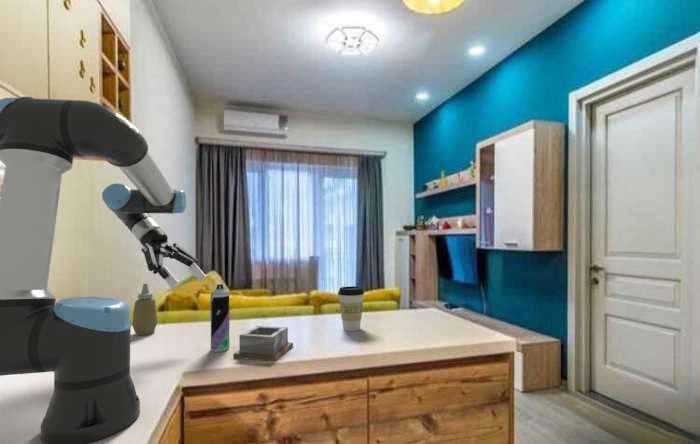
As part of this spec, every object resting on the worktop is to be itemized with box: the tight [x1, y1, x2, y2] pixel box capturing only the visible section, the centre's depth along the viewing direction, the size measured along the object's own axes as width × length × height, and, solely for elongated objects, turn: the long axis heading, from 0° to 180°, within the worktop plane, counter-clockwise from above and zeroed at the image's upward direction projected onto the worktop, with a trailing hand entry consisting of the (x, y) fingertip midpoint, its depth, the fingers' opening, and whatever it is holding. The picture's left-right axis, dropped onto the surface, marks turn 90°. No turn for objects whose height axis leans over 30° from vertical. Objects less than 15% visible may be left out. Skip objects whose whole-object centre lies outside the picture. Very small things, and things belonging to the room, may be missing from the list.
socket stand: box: [232, 325, 294, 362], centre depth 107 cm, size 13×13×6 cm
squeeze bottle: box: [131, 283, 158, 336], centre depth 130 cm, size 8×8×18 cm
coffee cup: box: [337, 285, 365, 332], centre depth 132 cm, size 10×10×15 cm
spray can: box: [210, 284, 230, 353], centre depth 111 cm, size 6×6×20 cm
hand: (190, 281), depth 114 cm, fingers open, 13 cm apart
